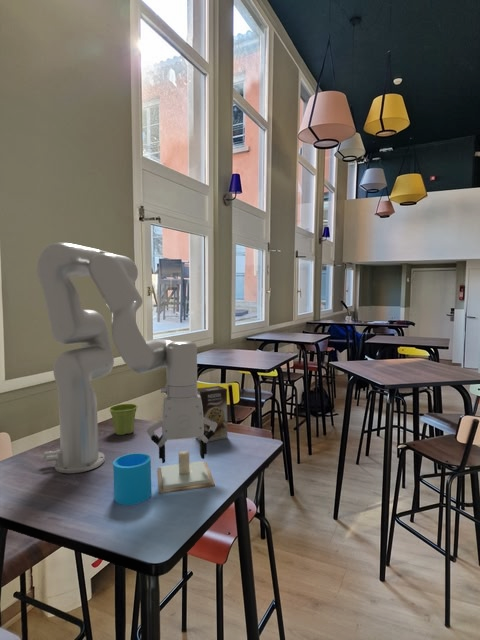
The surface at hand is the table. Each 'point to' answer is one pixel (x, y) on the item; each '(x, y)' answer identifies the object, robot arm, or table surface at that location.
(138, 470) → the mug
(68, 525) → the table surface
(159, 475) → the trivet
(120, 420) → the plant pot
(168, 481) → the lid
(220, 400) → the coffee box
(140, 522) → the table surface
